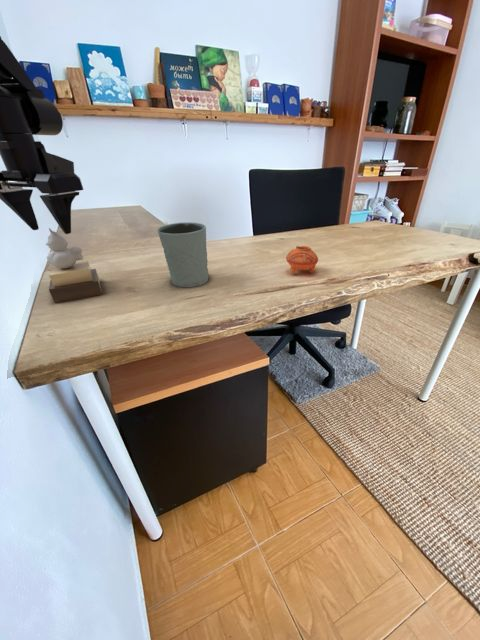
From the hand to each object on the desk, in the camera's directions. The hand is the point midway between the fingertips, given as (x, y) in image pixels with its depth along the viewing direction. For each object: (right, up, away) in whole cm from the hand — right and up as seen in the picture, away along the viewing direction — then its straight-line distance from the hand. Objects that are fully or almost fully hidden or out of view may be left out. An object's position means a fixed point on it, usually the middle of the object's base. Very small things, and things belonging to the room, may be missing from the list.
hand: (51, 231), depth 58 cm
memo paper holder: (+1, -10, +7) cm, 13 cm away
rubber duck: (+1, -6, +4) cm, 7 cm away
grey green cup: (+25, -7, +12) cm, 28 cm away
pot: (+52, -4, +16) cm, 54 cm away
